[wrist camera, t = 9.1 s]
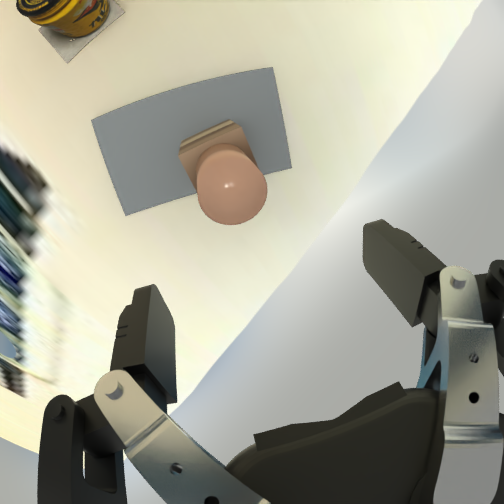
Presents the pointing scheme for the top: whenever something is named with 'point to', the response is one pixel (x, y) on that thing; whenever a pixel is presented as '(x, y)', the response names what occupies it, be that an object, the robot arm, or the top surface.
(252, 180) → the pink cylinder
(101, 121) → the board
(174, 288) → the top surface
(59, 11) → the condiment
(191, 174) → the block top
